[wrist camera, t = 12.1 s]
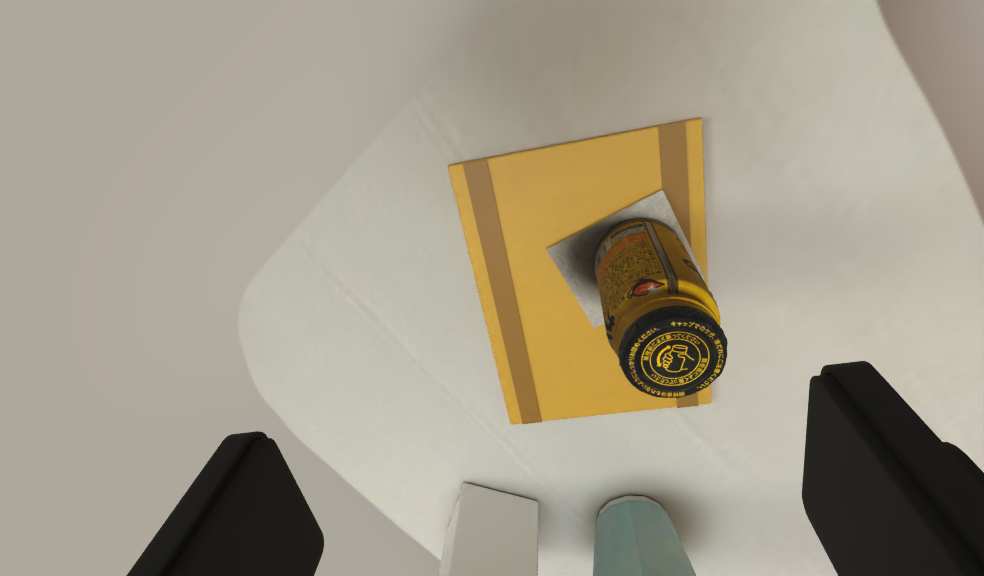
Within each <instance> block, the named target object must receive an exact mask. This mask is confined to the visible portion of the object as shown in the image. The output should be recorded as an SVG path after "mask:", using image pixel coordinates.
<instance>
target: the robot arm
mask: <svg viewBox="0 0 984 576" xmlns="http://www.w3.org/2000/svg"><path fill="white" fill-rule="evenodd" d="M802 499H803V504H804V508H805V511H806V514H807V516H808V518H809V520H810V522H811V524H812V526H813V528H814V530H815V532H816V534H817V536H818V538H819V540H820V541H821V543H822V545H823V547H824V549H825V551H826V553H827V555H828V557H829V559H830V561H831V563H832V564H833V566H834V568H835V570H836V572H837V574H838V576H984V473H983V472H982V470H981V469H980V468H979V467H978V466H977V465H976V464H975V463H974V462H973V461H972V460H971V459H970V458H969V457H968V456H967V455H966V454H965V453H964V452H963V451H962V450H960V449H959V448H958V447H957V446H955V445H953V444H950V443H948V442H942V441H941V440H940V439H939V438H938V437H937V436H936V435H935V434H934V432H933V431H932V430H931V429H930V428H929V427H928V426H927V425H926V424H925V423H924V422H923V420H922V419H921V418H920V417H919V416H918V415H917V414H916V413H915V412H914V411H913V410H912V408H911V407H910V406H909V405H908V404H907V403H906V402H905V401H904V400H903V399H902V397H901V396H900V395H899V394H898V393H897V392H896V391H895V390H894V389H893V388H892V387H891V385H890V384H889V383H888V382H887V381H886V380H885V379H884V378H883V377H882V376H881V375H880V373H879V372H878V371H877V370H876V369H875V368H874V367H873V366H872V365H871V364H870V363H868V362H866V361H859V362H850V363H842V364H833V365H826V366H824V367H823V368H822V370H821V375H819V376H813V377H812V378H811V380H810V388H809V402H808V416H807V430H806V444H805V459H804V473H803V487H802ZM323 548H324V537H323V533H322V531H321V529H320V527H319V525H318V523H317V521H316V519H315V517H314V516H313V514H312V512H311V510H310V508H309V506H308V504H307V502H306V500H305V498H304V496H303V494H302V492H301V490H300V488H299V487H298V485H297V483H296V481H295V479H294V477H293V475H292V473H291V471H290V469H289V467H288V465H287V464H286V461H285V460H284V458H283V456H282V454H281V452H280V450H279V448H278V446H277V444H276V443H275V441H274V440H273V439H271V438H268V437H267V436H266V434H264V433H263V432H249V433H240V434H232V435H229V436H227V437H226V438H225V439H224V440H223V441H222V443H221V445H220V446H219V447H218V449H217V450H216V451H215V453H214V454H213V456H212V457H211V458H210V460H209V461H208V462H207V464H206V465H205V467H204V468H203V470H202V471H201V472H200V474H199V475H198V476H197V478H196V479H195V481H194V482H193V484H192V485H191V486H190V488H189V489H188V491H187V492H186V493H185V495H184V496H183V497H182V499H181V500H180V502H179V503H178V505H177V506H176V507H175V509H174V510H173V511H172V513H171V514H170V516H169V517H168V519H167V520H166V521H165V523H164V524H163V525H162V527H161V528H160V530H159V531H158V532H157V534H156V535H155V537H154V538H153V540H152V541H151V542H150V544H149V545H148V546H147V548H146V549H145V551H144V552H143V553H142V555H141V556H140V558H139V559H138V561H137V562H136V563H135V565H134V566H133V568H132V569H131V570H130V572H129V573H128V575H127V576H314V574H315V571H316V569H317V566H318V564H319V561H320V558H321V556H322V553H323Z"/></svg>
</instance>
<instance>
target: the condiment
mask: <svg viewBox="0 0 984 576" xmlns="http://www.w3.org/2000/svg"><path fill="white" fill-rule="evenodd" d="M546 250H547V252H548V253H549V255H550V257H551V258H552V260H553V261H554V263H555V265H556V266H557V268H558V269H559V271H560V273H561V274H562V276H563V278H564V279H565V281H566V282H567V284H568V286H569V287H570V289H571V291H572V292H573V294H574V295H575V297H576V299H577V301H578V302H579V304H580V306H581V308H582V309H583V311H584V312H585V314H586V315H587V317H588V319H589V321H590V323H591V324H592V326H593V327H594V328H595V327H598V326H600V325H603V324H605V329H606V335H607V338H608V341H609V344H610V346H611V348H612V349H613V351H614V352H615V354H616V355H617V356H618V358H619V365H620V367H621V369H622V371H623V373H624V375H625V376H626V378H627V379H628V381H629V382H630V383H631V384H632V385H633V386H634V387H636V388H637V389H638V390H639V391H641V392H644V393H646V394H648V395H651V396H654V397H659V398H681V397H684V396H688V395H691V394H694V393H696V392H698V391H701V390H703V389H704V388H707V387H708V386H709V385H710V384H711V383H712V382H713V381H714V380H715V379H716V378H717V377H719V376H720V374H721V373H722V371H723V369H724V366H725V363H726V358H727V339H726V337H725V335H724V332H723V330H722V329H721V328H720V315H719V310H718V307H717V304H716V301H715V300H714V298H713V295H712V293H711V292H710V291H709V290H708V288H707V286H706V284H705V282H704V280H705V276H704V274H703V272H702V270H701V268H700V266H699V264H698V262H697V260H696V258H695V256H694V254H693V252H692V250H691V248H690V245H689V243H688V241H687V239H686V237H685V235H684V233H683V231H682V229H681V227H680V225H679V223H678V221H677V219H676V217H675V214H674V212H673V211H672V208H671V206H670V204H669V202H668V200H667V198H666V196H665V194H664V192H663V190H661V191H659V192H657V193H655V194H653V195H651V196H649V197H647V198H645V199H643V200H641V201H639V202H637V203H635V204H633V205H632V206H630V207H627V208H625V209H623V210H621V211H619V212H617V213H615V214H614V215H611V216H609V217H608V218H606V219H604V220H602V221H600V222H598V223H597V224H595V225H593V226H591V227H590V228H587V229H585V230H583V231H581V232H579V233H577V234H575V235H573V236H571V237H569V238H567V239H566V240H564V241H562V242H560V243H559V244H556V245H554V246H552V247H550V248H548V249H546Z"/></svg>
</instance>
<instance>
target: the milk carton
mask: <svg viewBox="0 0 984 576" xmlns="http://www.w3.org/2000/svg"><path fill="white" fill-rule="evenodd" d="M438 576H538V502H537V501H534V500H530V499H526V498H522V497H518V496H514V495H511V494H507V493H503V492H499V491H495V490H491V489H487V488H483V487H479V486H475V485H471V484H467V483H464V484H463V485H462V488H461V491H460V494H459V497H458V500H457V503H456V506H455V509H454V512H453V514H452V517H451V520H450V523H449V526H448V529H447V532H446V537H445V542H444V548H443V553H442V559H441V564H440V570H439V575H438Z"/></svg>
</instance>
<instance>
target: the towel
mask: <svg viewBox="0 0 984 576" xmlns="http://www.w3.org/2000/svg"><path fill="white" fill-rule="evenodd" d="M448 169H449V173H450V177H451V181H452V185H453V189H454V193H455V197H456V201H457V206H458V210H459V214H460V218H461V222H462V226H463V230H464V234H465V238H466V242H467V247H468V251H469V255H470V259H471V263H472V267H473V271H474V275H475V279H476V283H477V287H478V292H479V296H480V300H481V304H482V308H483V312H484V316H485V320H486V324H487V328H488V333H489V337H490V341H491V345H492V349H493V353H494V357H495V361H496V365H497V369H498V373H499V378H500V382H501V386H502V390H503V394H504V398H505V402H506V406H507V410H508V414H509V419H510V423H511V424H518V423H523V424H528V423H537V422H542V421H547V420H556V419H566V418H575V417H585V416H594V415H604V414H613V413H623V412H632V411H642V410H651V409H661V408H670V407H677V408H680V407H690V406H698V404H708V403H711V384H710V385H709V386H708V387H707V388H704V389H703V390H701V391H698V392H696V393H694V394H691V395H688V396H684V397H681V398H659V397H654V396H651V395H648V394H646V393H644V392H641V391H639V390H638V389H637V388H636V387H634V386H633V385H632V384H631V383H630V382H629V381H628V379H627V378H626V376H625V375H624V373H623V371H622V369H621V367H620V365H619V358H618V356H617V355H616V354H615V352H614V351H613V349H612V348H611V346H610V344H609V341H608V338H607V335H606V329H605V324H603V325H600V326H598V327H595V328H594V327H593V326H592V324H591V323H590V321H589V319H588V317H587V315H586V314H585V312H584V311H583V309H582V308H581V306H580V304H579V302H578V301H577V299H576V297H575V295H574V294H573V292H572V291H571V289H570V287H569V286H568V284H567V282H566V281H565V279H564V278H563V276H562V274H561V273H560V271H559V269H558V268H557V266H556V265H555V263H554V261H553V260H552V258H551V257H550V255H549V253H548V252H547V250H546V249H548V248H550V247H552V246H554V245H556V244H559V243H560V242H562V241H564V240H566V239H567V238H569V237H571V236H573V235H575V234H577V233H579V232H581V231H583V230H585V229H587V228H590V227H591V226H593V225H595V224H597V223H598V222H600V221H602V220H604V219H606V218H608V217H609V216H611V215H614V214H615V213H617V212H619V211H621V210H623V209H625V208H627V207H630V206H632V205H633V204H635V203H637V202H639V201H641V200H643V199H645V198H647V197H649V196H651V195H653V194H655V193H657V192H659V191H661V190H663V192H664V194H665V196H666V198H667V200H668V202H669V204H670V206H671V208H672V211H673V212H674V214H675V217H676V219H677V221H678V223H679V225H680V227H681V229H682V231H683V233H684V235H685V237H686V239H687V241H688V243H689V245H690V248H691V250H692V252H693V254H694V256H695V258H696V260H697V262H698V264H699V266H700V268H701V270H702V272H703V274H704V276H705V280H704V282H705V284H706V286H707V258H706V227H705V196H704V166H703V135H702V119H701V118H697V119H692V120H686V121H681V122H676V123H670V124H665V125H660V126H655V127H649V128H644V129H639V130H633V131H628V132H623V133H617V134H612V135H607V136H601V137H596V138H591V139H586V140H580V141H575V142H570V143H564V144H559V145H554V146H548V147H543V148H538V149H532V150H527V151H522V152H516V153H511V154H506V155H501V156H495V157H490V158H485V159H479V160H474V161H469V162H463V163H458V164H453V165H449V166H448Z"/></svg>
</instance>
